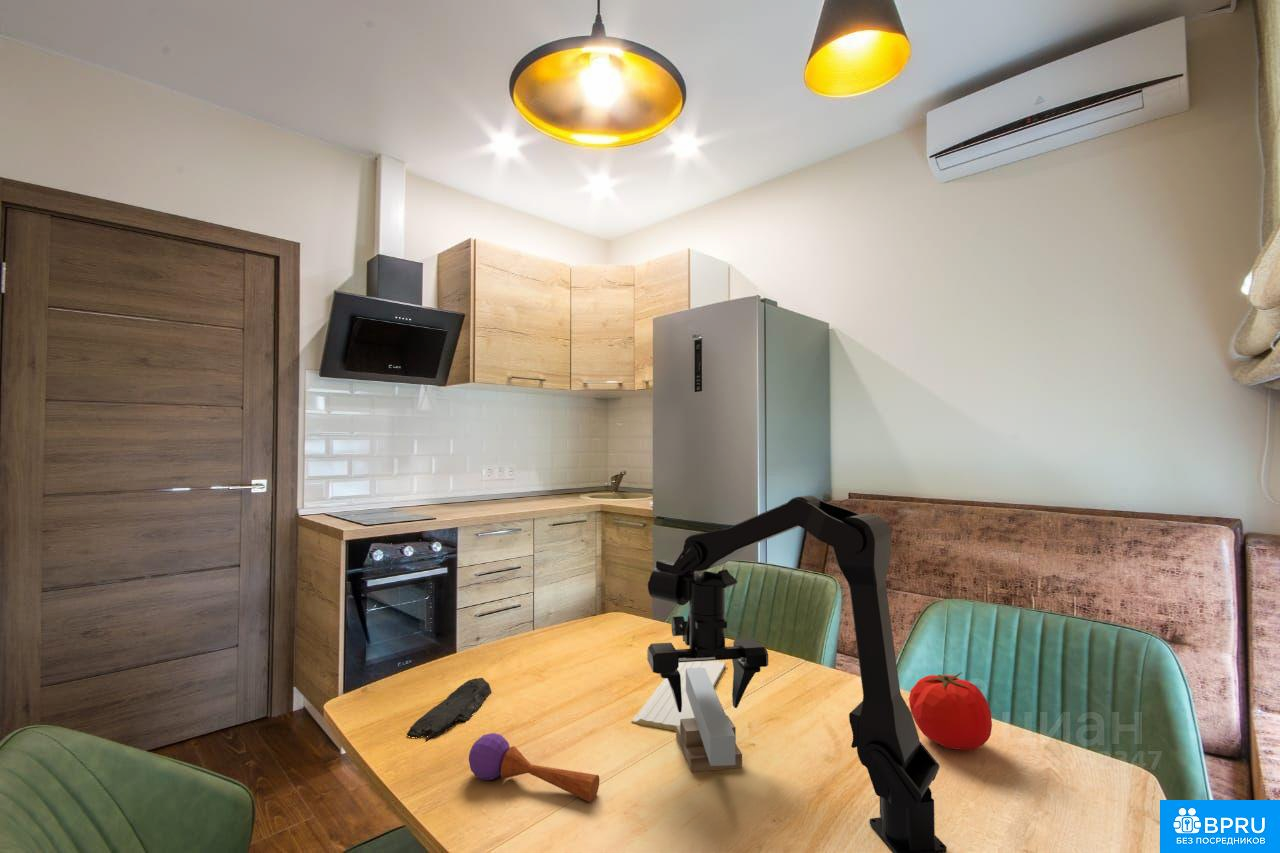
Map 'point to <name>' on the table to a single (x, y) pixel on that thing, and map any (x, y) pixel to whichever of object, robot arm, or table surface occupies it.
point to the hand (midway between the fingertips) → (707, 709)
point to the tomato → (951, 711)
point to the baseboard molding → (662, 702)
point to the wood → (452, 709)
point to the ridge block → (700, 747)
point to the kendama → (525, 767)
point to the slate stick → (710, 718)
